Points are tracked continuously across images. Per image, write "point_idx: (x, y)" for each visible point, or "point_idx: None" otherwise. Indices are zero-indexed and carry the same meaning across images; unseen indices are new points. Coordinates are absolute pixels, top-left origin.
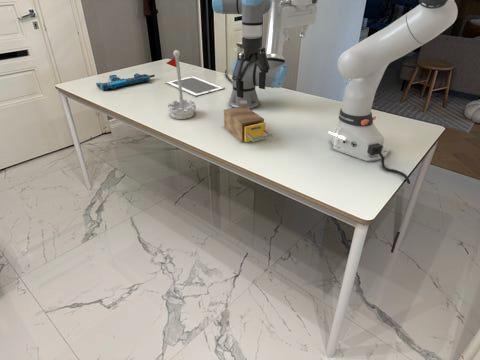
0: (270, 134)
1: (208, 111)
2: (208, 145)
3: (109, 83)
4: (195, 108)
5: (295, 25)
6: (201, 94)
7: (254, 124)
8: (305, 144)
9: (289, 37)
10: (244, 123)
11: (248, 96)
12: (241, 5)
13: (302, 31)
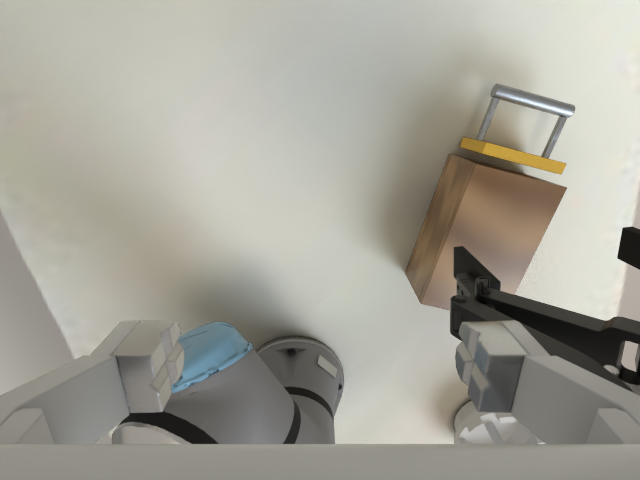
0: (505, 89)
1: (417, 397)
2: (603, 226)
3: None
4: (471, 415)
5: (484, 470)
6: None
7: (523, 163)
8: (392, 2)
9: (483, 339)
10: (555, 184)
11: (308, 373)
12: None
13: (111, 408)
